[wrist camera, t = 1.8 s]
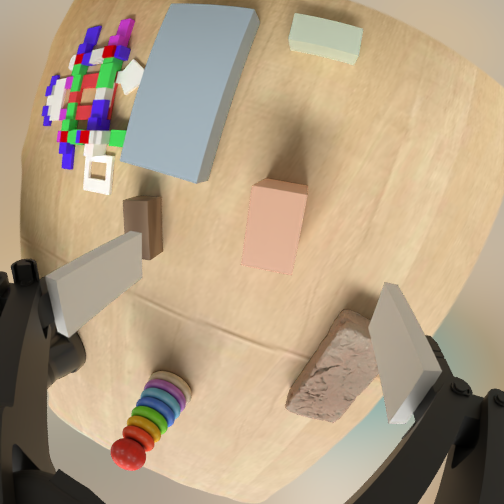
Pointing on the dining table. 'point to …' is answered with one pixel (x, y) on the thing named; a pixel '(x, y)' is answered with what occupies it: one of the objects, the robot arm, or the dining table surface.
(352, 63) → the sage block
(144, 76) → the base block
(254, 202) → the terracotta block
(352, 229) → the dining table surface
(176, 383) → the stacking toy
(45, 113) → the building block set
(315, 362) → the brick
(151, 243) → the walnut block
